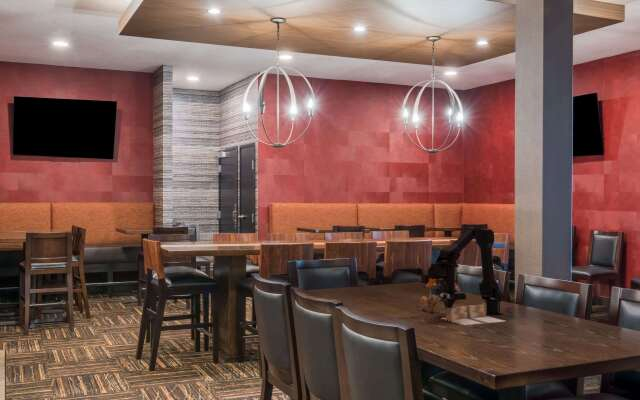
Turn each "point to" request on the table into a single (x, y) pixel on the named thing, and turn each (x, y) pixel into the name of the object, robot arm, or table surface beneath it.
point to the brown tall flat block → (457, 313)
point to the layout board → (476, 320)
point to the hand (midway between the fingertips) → (447, 312)
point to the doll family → (434, 282)
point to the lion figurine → (429, 302)
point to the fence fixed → (477, 310)
